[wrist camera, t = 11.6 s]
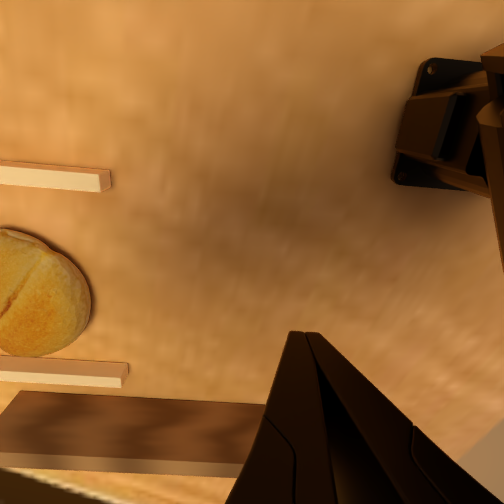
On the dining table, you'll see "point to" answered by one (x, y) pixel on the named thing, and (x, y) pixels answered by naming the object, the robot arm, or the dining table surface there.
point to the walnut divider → (127, 434)
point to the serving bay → (46, 367)
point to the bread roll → (39, 297)
